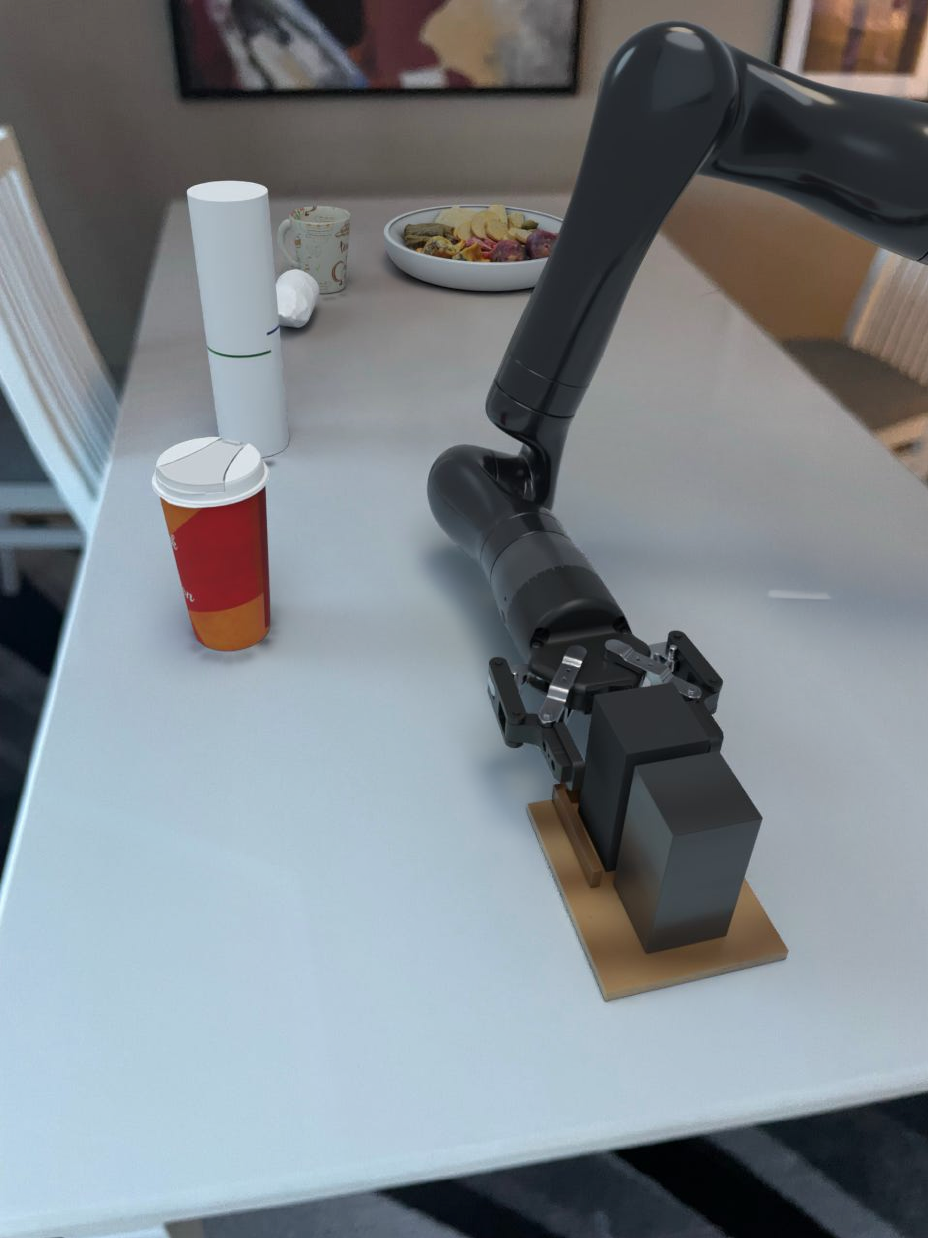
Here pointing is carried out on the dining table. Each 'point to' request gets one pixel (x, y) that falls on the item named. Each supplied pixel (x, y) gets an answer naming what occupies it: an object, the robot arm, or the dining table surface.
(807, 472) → the dining table surface
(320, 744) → the dining table surface
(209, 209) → the cylindrical container
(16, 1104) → the dining table surface
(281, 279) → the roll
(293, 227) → the mug
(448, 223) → the bowl
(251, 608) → the coffee cup
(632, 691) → the black rectangular block
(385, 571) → the dining table surface
